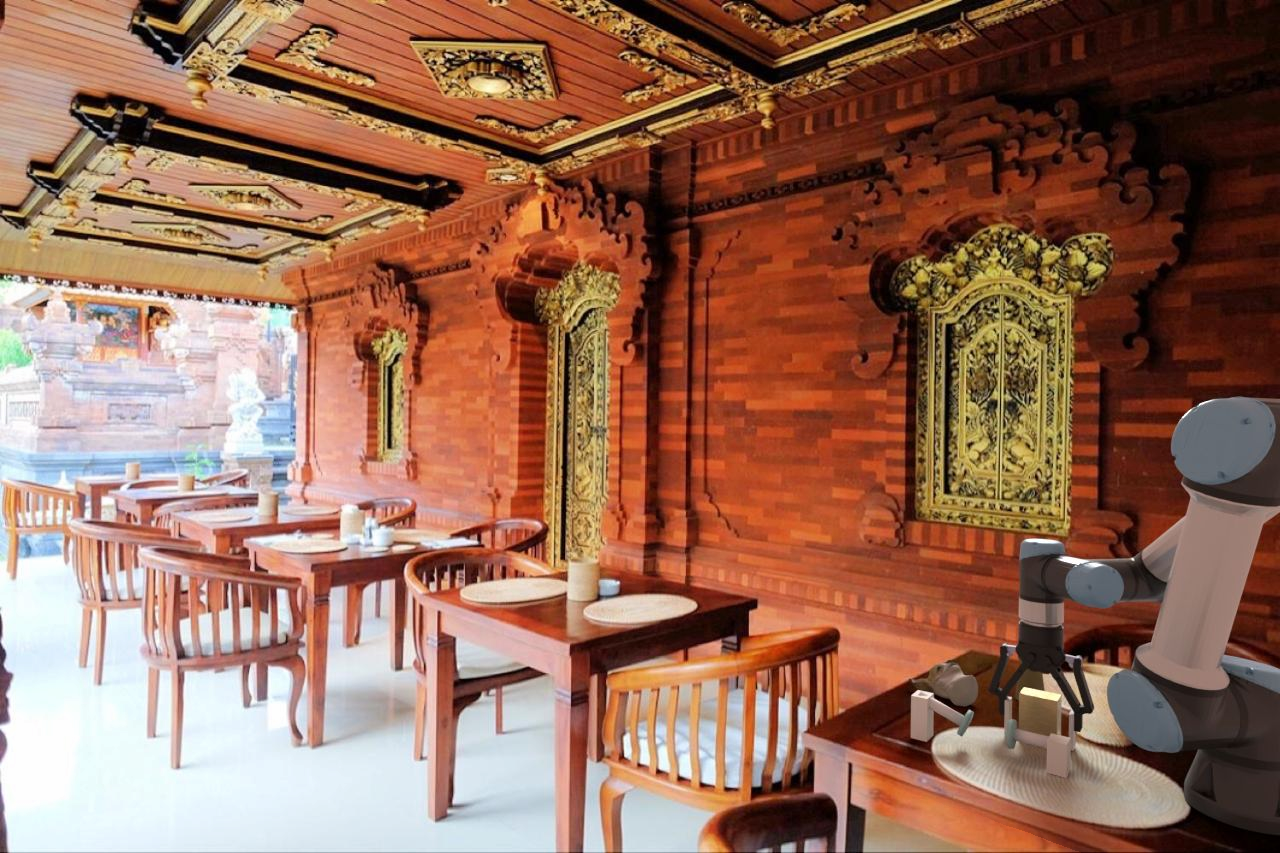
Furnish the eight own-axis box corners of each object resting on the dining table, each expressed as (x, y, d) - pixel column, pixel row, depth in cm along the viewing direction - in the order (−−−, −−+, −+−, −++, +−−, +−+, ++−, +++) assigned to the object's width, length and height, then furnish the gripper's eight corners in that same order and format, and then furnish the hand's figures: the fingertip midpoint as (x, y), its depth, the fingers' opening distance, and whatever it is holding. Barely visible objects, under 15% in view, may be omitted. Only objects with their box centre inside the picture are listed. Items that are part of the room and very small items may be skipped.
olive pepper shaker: (1008, 697, 167) (1009, 646, 167) (1027, 693, 170) (1028, 644, 170) (1033, 706, 162) (1033, 654, 162) (1052, 702, 164) (1053, 651, 164)
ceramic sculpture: (951, 669, 158) (905, 653, 172) (952, 712, 157) (906, 692, 171) (993, 666, 161) (945, 650, 175) (994, 708, 160) (945, 689, 175)
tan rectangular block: (1023, 733, 147) (1024, 687, 147) (1060, 742, 143) (1061, 694, 143) (1018, 741, 143) (1019, 693, 143) (1056, 750, 139) (1057, 701, 140)
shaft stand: (1070, 768, 132) (1071, 719, 132) (1065, 778, 128) (1066, 728, 128) (918, 730, 148) (918, 686, 148) (909, 738, 144) (910, 693, 144)
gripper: (1113, 628, 139) (1112, 749, 139) (981, 609, 153) (980, 719, 153) (1108, 637, 133) (1107, 763, 133) (971, 615, 147) (970, 730, 147)
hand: (1039, 740), depth 143 cm, fingers open, 10 cm apart
